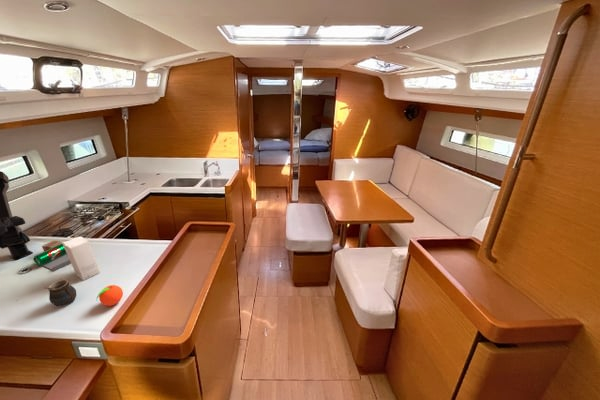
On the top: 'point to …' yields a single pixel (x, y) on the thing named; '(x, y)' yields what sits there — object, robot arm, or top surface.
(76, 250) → the skincare box
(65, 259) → the tray
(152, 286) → the top surface
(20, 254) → the robot arm
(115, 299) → the clementine
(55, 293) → the mate gourd
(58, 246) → the soda can
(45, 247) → the walnut block
